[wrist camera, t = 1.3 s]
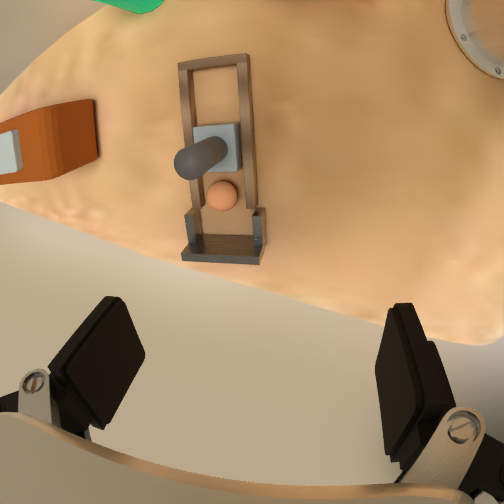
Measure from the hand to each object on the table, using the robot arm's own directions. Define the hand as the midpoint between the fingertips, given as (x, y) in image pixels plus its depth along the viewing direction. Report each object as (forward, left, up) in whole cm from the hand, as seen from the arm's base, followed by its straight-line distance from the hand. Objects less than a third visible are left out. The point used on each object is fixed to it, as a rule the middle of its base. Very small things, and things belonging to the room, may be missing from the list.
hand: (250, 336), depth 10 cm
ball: (+3, -8, -24) cm, 25 cm away
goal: (+7, -8, -25) cm, 27 cm away
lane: (-3, -8, -25) cm, 27 cm away
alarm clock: (-7, -36, -26) cm, 45 cm away
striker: (-3, -8, -25) cm, 27 cm away
